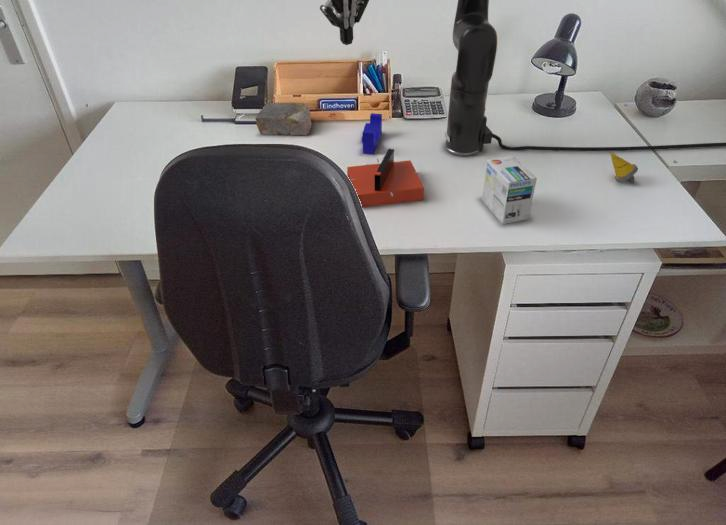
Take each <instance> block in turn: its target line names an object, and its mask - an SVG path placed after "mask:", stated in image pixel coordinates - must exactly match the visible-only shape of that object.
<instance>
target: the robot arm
mask: <svg viewBox="0 0 726 525" xmlns="http://www.w3.org/2000/svg"><path fill="white" fill-rule="evenodd" d="M369 2H370V0H326V1H325V3H324V4H321V5H320V6H319V10H320V11H321V13H322V14H323V15H324V17H325V18H326V19H327V20H328V22H329V23H330V24H331V26H334V27H336V28H338V29H339V41H340V42H341V43H342V44H343V45H344V46H348V45H352V44H353V41H354V26H355V24H357V23H360V22H361V19H362V17H363V15H364V13H365V11H366V8H367V7H368V5H369ZM456 4H457V5H456V11H455V16H454V22H453V28H452V44H453V45H454V47H455V49H456V50H457V59H456V68H455V71H454V72H453V73H452V75H451V81H450V92H449V102H448V103H449V104H448V115H447V124H446V131H444V138H445V143H444V148H445V151H447V152H448V153H450V154H452V155H454V156H459V157H460V156H461V157H469V156H474V155H477V154H478V153H480V152H483V151H484V145H491V144H492V141H493V139H495V140H496V141H497V144H498V147H499V148H501V149H503V150H506V151H526V150H529V151H530V150H532V151H533V150H534V151H559V152H561V151H564V152H567V151H568V152H615V151H620V152H622V151H650V150H651V151H653V150H671V149H691V148H713V147H726V142H710V143H709V142H707V143H704V142H703V143H688V144H687V143H685V144H666V145H665V144H664V145H663V144H662V145H642V146H640V145H639V146H637V145H636V146H585V147H583V146H576V147H575V146H541V145H540V146H538V145H537V146H536V145H523V146H522V145H521V146H507V145H505V144H503V140H502V138H501V137H500V136H498V135H496V134H494V133H493V132H492V130H491V129H490V128H489V127H488V126H487V121H488V117H487V116H486V108H487V107H486V106H487V98H488V91H489V84H490V81H491V80H492V77H493V75H494V69H495V64H496V58H497V52H498V43H499V36H498V33H497V29H495V27H494V26H493V25H492V24H491V23H490V22H489V11H490V10H489V7H490V0H457V3H456Z"/></svg>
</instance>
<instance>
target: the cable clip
mask: <svg viewBox="0 0 726 525" xmlns="http://www.w3.org/2000/svg"><path fill="white" fill-rule="evenodd" d="M382 125H383V114H382V113H373V112H371V113H370V115H369V122H365V125H364V127H363V131H362V136H361V143H362V154H368V155H375V153H376V150H377V147H378V145H379V143H380V139H381V137H382V134H383V133H382V132H383V126H382Z"/></svg>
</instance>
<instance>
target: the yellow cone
mask: <svg viewBox="0 0 726 525" xmlns="http://www.w3.org/2000/svg"><path fill="white" fill-rule="evenodd" d="M609 152H610V153H609V154H610V158H611V162H612V165H613V170H614V174H615V176H614V179H615V181H616V182H617V183H622V182H625V181H628V182H630V183H632V184H635V180H636V178H635V176H634V175H636V173H638V171H639V168H638V166H637V165H636V164H635V163H634V164H633V163H630V162H628V161H627V160H625V159H624V158H622V157H620V156H619V155H617V154H615V153H614V152H612V151H609Z"/></svg>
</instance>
